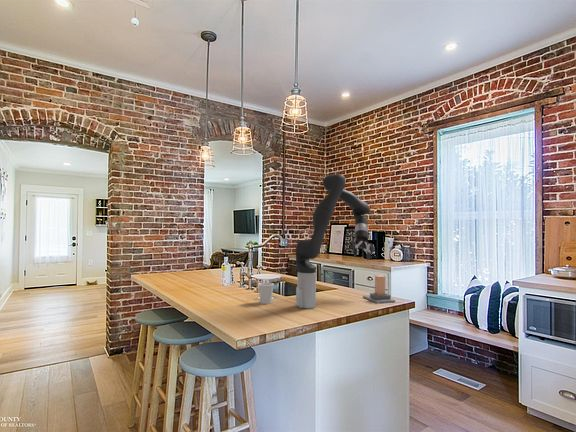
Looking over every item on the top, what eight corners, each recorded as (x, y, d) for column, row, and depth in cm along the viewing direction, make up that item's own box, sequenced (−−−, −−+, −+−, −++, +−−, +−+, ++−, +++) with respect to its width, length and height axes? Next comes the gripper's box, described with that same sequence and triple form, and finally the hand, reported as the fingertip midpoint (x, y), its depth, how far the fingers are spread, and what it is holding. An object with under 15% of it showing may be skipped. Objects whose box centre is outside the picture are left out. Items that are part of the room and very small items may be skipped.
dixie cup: (274, 301, 178) (274, 282, 179) (272, 304, 170) (272, 285, 170) (259, 300, 179) (259, 282, 180) (256, 304, 171) (256, 284, 171)
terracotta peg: (378, 298, 182) (378, 276, 183) (374, 297, 186) (374, 275, 186) (385, 298, 183) (385, 276, 184) (381, 296, 187) (381, 275, 187)
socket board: (377, 303, 176) (377, 297, 176) (362, 297, 190) (362, 292, 190) (395, 302, 179) (395, 296, 179) (379, 296, 193) (379, 291, 193)
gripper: (354, 226, 191) (354, 251, 182) (375, 233, 195) (376, 258, 186) (347, 232, 197) (347, 256, 188) (367, 238, 201) (368, 263, 192)
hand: (362, 257), depth 187 cm, fingers open, 8 cm apart
